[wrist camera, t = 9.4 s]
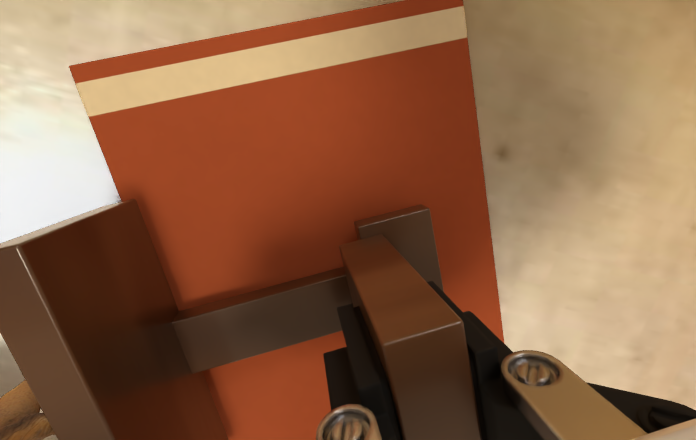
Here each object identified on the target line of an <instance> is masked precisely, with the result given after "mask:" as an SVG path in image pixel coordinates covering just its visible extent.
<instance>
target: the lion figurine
mask: <svg viewBox="0 0 696 440" xmlns="http://www.w3.org/2000/svg"><path fill="white" fill-rule="evenodd" d="M40 409H41V407H40V405H39V403H38V401H37V400H36V398H35V396H34V394H33V392H32V390H31V389H30V387H29V385H28V383H27V381H26V380H24V381H23V382H22V383H21V384H19V385H18V386H17V387H15V388H14V389H13V390H11V391H9V392H8V393H6V394H5V395H4V396H3V397H1V398H0V440H58V438H57V437H56V435H55V433H54V431H53V429H52V427H51V426H50V424H49V422H48V420H47V418H46V416H45V414H44V413H39V412H40Z"/></svg>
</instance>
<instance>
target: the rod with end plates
mask: <svg viewBox="0 0 696 440" xmlns="http://www.w3.org/2000/svg"><path fill="white" fill-rule="evenodd" d="M354 225H355V230H356V234H357V238H358V240H357V241H353V242H350V243H346V244H342V245H340V246H339V249H340V253H341V258H342V262H343V267H340V268H336V269H332V270H329V271H325V272H321V273H318V274H314V275H310V276H307V277H303V278H299V279H296V280H292V281H288V282H285V283H281V284H277V285H273V286H270V287H266V288H262V289H259V290H255V291H251V292H248V293H244V294H240V295H237V296H233V297H229V298H226V299H222V300H218V301H215V302H211V303H207V304H204V305H200V306H196V307H193V308H189V309H185V310H181V311H179V310H178V307H177V305H176V302H175V299H174V297H173V294H172V292H171V289H170V286H169V284H168V281H167V279H166V276H165V274H164V271H163V268H162V266H161V263H160V261H159V258H158V255H157V253H156V250H155V248H154V245H153V243H152V240H151V237H150V235H149V232H148V230H147V227H146V224H145V222H144V219H143V217H142V214H141V212H140V209H139V206H138V204H137V201H136V200H135V199H131V200H127V201H123V202H119V203H114V204H110V205H106V206H103V207H100V208H97V209H95V210H92V211H89V212H86V213H83V214H81V215H78V216H75V217H72V218H70V219H67V220H64V221H61V222H59V223H56V224H53V225H50V226H47V227H45V228H42V229H39V230H36V231H34V232H31V233H28V234H25V235H23V236H20V237H17V238H14V239H12V240H9V241H6V242H3V243H0V333H1V335H2V337H3V339H4V340H5V342H6V344H7V346H8V348H9V350H10V351H11V353H12V355H13V357H14V359H15V361H16V363H17V364H18V366H19V368H20V370H21V372H22V374H23V376H24V377H25V379H26V381H27V383H28V385H29V387H30V389H31V390H32V392H33V394H34V396H35V398H36V400H37V401H38V403H39V405H40V407H41V409H42V411H43V413H44V414H45V416H46V418H47V420H48V422H49V424H50V426H51V427H52V429H53V431H54V433H55V435H56V437H57V438H58V440H229V439H228V436H227V434H226V431H225V429H224V426H223V423H222V421H221V418H220V416H219V413H218V411H217V408H216V405H215V403H214V400H213V398H212V395H211V392H210V390H209V387H208V385H207V382H206V380H205V377H204V374H203V372H202V371H205V370H208V369H211V368H215V367H218V366H222V365H225V364H229V363H232V362H236V361H239V360H243V359H246V358H250V357H253V356H256V355H260V354H263V353H267V352H270V351H274V350H277V349H281V348H284V347H288V346H291V345H295V344H298V343H301V342H305V341H308V340H312V339H315V338H319V337H322V336H326V335H329V334H333V333H336V332H339V331H342V327H341V323H340V319H339V316H338V312H337V307H341V306H344V305H348V304H351V303H352V304H353V307H357V306H359V307H360V310H361V312H362V315H363V317H364V320H365V322H366V325H367V328H368V330H369V333H370V335H371V338H372V340H373V343H374V345H375V348H376V350H377V353H378V355H379V358H380V360H381V363H382V366H383V368H384V371H385V373H386V376H387V379H388V382H389V386H390V389H391V393H392V398H393V402H394V406H395V411H396V415H397V419H398V424H399V428H400V432H401V437H402V440H482V437H481V430H480V424H479V418H478V411H477V405H476V399H475V393H474V386H473V380H472V374H471V367H470V361H469V355H468V349H467V342H466V336H465V330H464V324H463V321H462V320H461V318H460V317H459V316H458V315H457V314H456V313H455V312H454V311H453V310H452V309H451V308H450V307H449V306H448V305H447V303H446V302H445V301H444V300H443V299H442V298H441V297H440V296H439V295H438V294H437V293H436V292H435V291H434V290H433V288H432V287H431V286H430V285H429V284H428V283H427V282H429V281H433V282H434V283H435V284H436V285H437V286H438V287H439V288H440V289H441V290H442V291H443V292H444V290H443V284H442V278H441V272H440V266H439V260H438V255H437V249H436V243H435V237H434V231H433V225H432V219H431V214H430V209H429V208H428V207H426V206H424V205H422V204H419V205H416V206H412V207H408V208H404V209H400V210H396V211H393V212H389V213H385V214H381V215H377V216H373V217H369V218H366V219H362V220H358V221H355V222H354Z"/></svg>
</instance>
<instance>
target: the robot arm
mask: <svg viewBox="0 0 696 440" xmlns="http://www.w3.org/2000/svg"><path fill="white" fill-rule="evenodd" d="M427 283H428V284H429V285H430V286H431V287H432V288H433V290H434V291H435V292H436V293H437V294H438V295H439V296H440V297H441V298H442V299H443V300H444V301H445V302H446V303H447V305H448V306H449V307H450V308H451V309H452V310H453V311H454V312H455V313H456V314H457V315H458V316H459V317H460V318H461V320H462V321H463V324H464V330H465V336H466V342H467V349H468V355H469V361H470V367H471V374H472V380H473V386H474V393H475V399H476V405H477V411H478V418H479V424H480V430H481V437H482V440H696V410H693V409H691V408H689V407H687V406H685V405H682V404H679V403H675V402H672V401H668V400H663V399H659V398H654V397H650V396H645V395H641V394H636V393H632V392H627V391H623V390H618V389H614V388H609V387H605V386H600V385H596V384H591V383H587V382H585V381H583V380H582V379H581V378H580V377H579V376H577V375H576V374H575V373H574V372H573V371H571V370H570V369H569V368H568V367H567V366H565V365H564V364H563V363H562V362H561V361H559V360H558V359H556V358H555V357H553V356H551V355H549V354H546V353H543V352H539V351H533V350H523V351H518V352H514V353H513V352H512V351H511V350H510V349H509V348H508V347H507V346H506V345H505V344H504V343H503V342H502V341H501V340H500V339H499V338H498V337H497V336H496V335H495V334H494V333H493V332H492V331H491V330H490V329H489V328H488V327H487V326H486V325H485V324H484V323H483V322H482V321H481V320H480V319H479V318H478V317H476V316H475V315H474V314H473V313H472V312H471V311H466V312H462V311H461V310H460V309H459V308H458V307H457V306H456V305H455V303H454V302H453V301H452V300H451V299H450V298H449V297H448V296H447V295H446V294H445V293H444V292H443V291H442V290H441V289H440V288H439V287H438V286H437V285H436V284H435V283H434V282H433V281H429V282H427ZM337 312H338V316H339V319H340V323H341V327H342V331H343V335H344V339H345V343H346V346H347V347H343V348H340V349H337V350H333V351H330V352H326V353H323V356H324V364H325V371H326V378H327V385H328V392H329V399H330V406H331V411H330V412H329V413H327V414H326V415H325V416H324V418H323V419H322V420H321V421H320V423H319V425H318V428H317V431H316V440H402V437H401V432H400V428H399V424H398V419H397V415H396V411H395V406H394V402H393V398H392V393H391V389H390V386H389V382H388V379H387V376H386V373H385V371H384V368H383V366H382V363H381V360H380V358H379V355H378V353H377V350H376V348H375V345H374V343H373V340H372V338H371V335H370V333H369V330H368V328H367V325H366V322H365V320H364V317H363V315H362V312H361V310H360V307H359V306H357V307H353V304H352V303H351V304H348V305H344V306H341V307H337Z"/></svg>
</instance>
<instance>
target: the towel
mask: <svg viewBox="0 0 696 440" xmlns="http://www.w3.org/2000/svg"><path fill="white" fill-rule="evenodd" d="M69 68H70V71H71V73H72V76H73V78H74V81H75V83H76V86H77V89H78V92H79V94H80V97H81V99H82V102H83V104H84V107H85V109H86V112H87V115H88V117H89V119H90V122H91V124H92V127H93V129H94V132H95V134H96V137H97V139H98V142H99V144H100V147H101V150H102V152H103V155H104V157H105V160H106V162H107V165H108V167H109V170H110V173H111V175H112V178H113V180H114V183H115V185H116V188H117V190H118V193H119V195H120V198H121V201H122V202H123V201H127V200H131V199H135V200H136V201H137V204H138V206H139V209H140V212H141V214H142V217H143V219H144V222H145V224H146V227H147V230H148V232H149V235H150V237H151V240H152V243H153V245H154V248H155V250H156V253H157V255H158V258H159V261H160V263H161V266H162V268H163V271H164V274H165V276H166V279H167V281H168V284H169V286H170V289H171V292H172V294H173V297H174V299H175V302H176V305H177V307H178V310H179V311H181V310H185V309H189V308H193V307H196V306H200V305H204V304H207V303H211V302H215V301H218V300H222V299H226V298H229V297H233V296H237V295H240V294H244V293H248V292H251V291H255V290H259V289H262V288H266V287H270V286H273V285H277V284H281V283H285V282H288V281H292V280H296V279H299V278H303V277H307V276H310V275H314V274H318V273H321V272H325V271H329V270H332V269H336V268H340V267H343V262H342V258H341V253H340V249H339V246H340V245H342V244H346V243H350V242H353V241H357V240H358V238H357V234H356V230H355V225H354V222H355V221H358V220H362V219H366V218H369V217H373V216H377V215H381V214H385V213H389V212H393V211H396V210H400V209H404V208H408V207H412V206H416V205H419V204H422V205H424V206H426V207H428V208H429V209H430V214H431V219H432V225H433V231H434V237H435V243H436V249H437V255H438V260H439V266H440V272H441V278H442V284H443V290H444V293H445V294H446V295H447V296H448V297H449V298H450V299H451V300H452V301H453V302H454V303H455V305H456V306H457V307H458V308H459V309H460V310H461V311H462V312H466V311H471V312H472V313H473V314H474V315H475V316H476V317H478V318H479V319H480V320H481V321H482V322H483V323H484V324H485V325H486V326H487V327H488V328H489V329H490V330H491V331H492V332H493V333H494V334H495V335H496V336H497V337H498V338H499V339H500V340H501V341H502V342H503V343H504V338H503V330H502V321H501V313H500V305H499V296H498V288H497V280H496V272H495V263H494V255H493V247H492V238H491V230H490V222H489V213H488V205H487V197H486V189H485V180H484V172H483V164H482V155H481V147H480V139H479V131H478V122H477V114H476V106H475V97H474V89H473V81H472V72H471V64H470V56H469V48H468V39H467V29H466V21H465V13H464V6H463V0H405V1H400V2H394V3H389V4H384V5H379V6H374V7H369V8H364V9H359V10H353V11H348V12H343V13H338V14H333V15H328V16H323V17H317V18H312V19H307V20H302V21H297V22H292V23H287V24H282V25H276V26H271V27H266V28H261V29H256V30H251V31H246V32H241V33H235V34H230V35H225V36H220V37H215V38H210V39H205V40H200V41H194V42H189V43H184V44H179V45H174V46H169V47H164V48H158V49H153V50H148V51H143V52H138V53H133V54H128V55H123V56H117V57H112V58H107V59H102V60H97V61H92V62H87V63H82V64H76V65H71V66H69ZM343 347H347V346H346V343H345V339H344V335H343V331H339V332H336V333H333V334H329V335H326V336H322V337H319V338H315V339H312V340H308V341H305V342H301V343H298V344H295V345H291V346H288V347H284V348H281V349H277V350H274V351H270V352H267V353H263V354H260V355H256V356H253V357H250V358H246V359H243V360H239V361H236V362H232V363H229V364H225V365H222V366H218V367H215V368H211V369H208V370H205V371H202V372H203V374H204V377H205V380H206V382H207V385H208V387H209V390H210V392H211V395H212V398H213V400H214V403H215V405H216V408H217V411H218V413H219V416H220V418H221V421H222V423H223V426H224V429H225V431H226V434H227V436H228V439H229V440H316V431H317V428H318V425H319V423H320V421H321V420H322V419H323V418H324V416H325V415H326V414H327V413H329V412H330V411H331V406H330V399H329V392H328V385H327V378H326V371H325V364H324V356H323V353H326V352H330V351H333V350H337V349H340V348H343Z"/></svg>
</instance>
